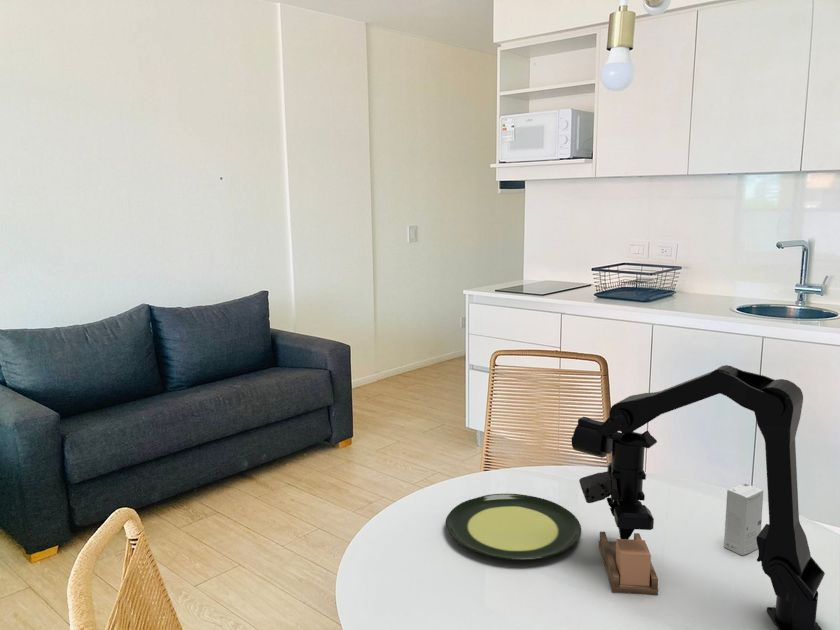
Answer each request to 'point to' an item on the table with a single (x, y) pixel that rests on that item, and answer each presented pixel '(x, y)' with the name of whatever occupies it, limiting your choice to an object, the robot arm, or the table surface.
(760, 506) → the skincare box
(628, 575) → the block
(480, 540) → the plate
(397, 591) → the table surface
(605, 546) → the chute
